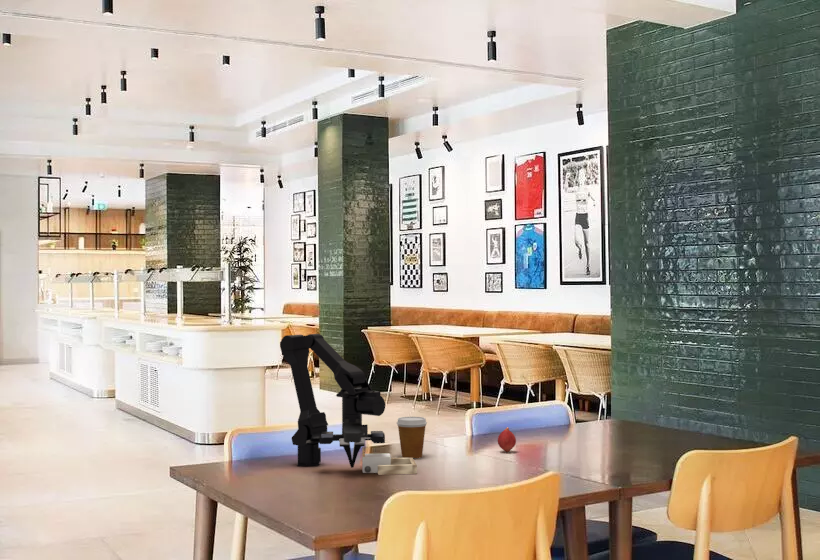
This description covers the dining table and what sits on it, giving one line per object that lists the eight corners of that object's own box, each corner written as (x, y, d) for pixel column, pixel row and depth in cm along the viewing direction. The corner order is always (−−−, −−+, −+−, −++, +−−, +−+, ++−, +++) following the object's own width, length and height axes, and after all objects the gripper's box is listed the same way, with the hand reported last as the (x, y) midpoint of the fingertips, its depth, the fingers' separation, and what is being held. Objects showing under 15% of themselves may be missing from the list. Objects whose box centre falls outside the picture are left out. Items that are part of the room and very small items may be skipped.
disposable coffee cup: (424, 460, 288) (423, 421, 288) (393, 459, 289) (393, 420, 290) (429, 454, 297) (429, 416, 297) (400, 453, 299) (400, 416, 299)
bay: (378, 474, 265) (378, 465, 265) (375, 466, 277) (375, 458, 277) (416, 473, 266) (416, 465, 266) (413, 466, 278) (413, 457, 278)
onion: (495, 453, 299) (495, 428, 299) (500, 450, 305) (500, 425, 305) (513, 454, 297) (513, 429, 297) (518, 451, 302) (518, 426, 302)
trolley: (362, 473, 267) (362, 450, 267) (362, 468, 274) (362, 446, 274) (390, 472, 268) (390, 450, 268) (389, 468, 275) (389, 446, 275)
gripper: (318, 417, 262) (319, 473, 262) (385, 416, 263) (385, 472, 263) (319, 412, 273) (319, 466, 273) (383, 411, 275) (384, 464, 274)
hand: (352, 467), depth 271 cm, fingers closed
